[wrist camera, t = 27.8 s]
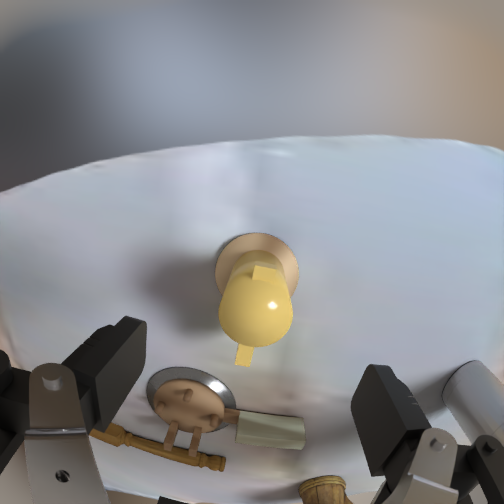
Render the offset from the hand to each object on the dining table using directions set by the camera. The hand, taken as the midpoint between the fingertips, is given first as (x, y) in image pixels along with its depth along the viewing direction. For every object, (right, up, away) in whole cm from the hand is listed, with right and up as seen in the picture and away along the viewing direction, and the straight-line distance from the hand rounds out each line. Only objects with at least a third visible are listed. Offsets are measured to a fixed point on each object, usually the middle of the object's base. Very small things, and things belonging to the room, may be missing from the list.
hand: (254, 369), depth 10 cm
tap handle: (-19, -28, +31) cm, 46 cm away
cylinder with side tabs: (0, 0, +22) cm, 22 cm away
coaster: (+1, +2, +23) cm, 23 cm away
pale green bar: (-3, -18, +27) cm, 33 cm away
